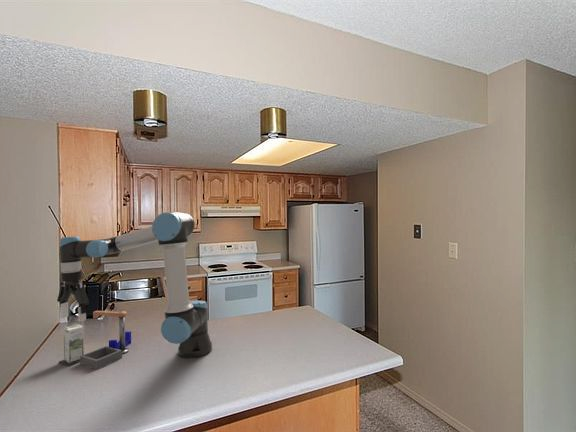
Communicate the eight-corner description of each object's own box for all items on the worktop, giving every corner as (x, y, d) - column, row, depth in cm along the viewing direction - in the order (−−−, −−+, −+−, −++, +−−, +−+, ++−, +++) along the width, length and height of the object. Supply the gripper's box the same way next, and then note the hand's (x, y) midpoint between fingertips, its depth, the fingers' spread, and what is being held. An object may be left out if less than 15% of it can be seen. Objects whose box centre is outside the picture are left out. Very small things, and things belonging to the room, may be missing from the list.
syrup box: (78, 355, 142) (78, 323, 142) (84, 358, 139) (83, 326, 139) (64, 360, 137) (63, 327, 137) (69, 363, 134) (68, 330, 134)
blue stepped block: (123, 343, 157) (122, 331, 157) (131, 343, 156) (131, 331, 156) (106, 353, 145) (105, 340, 145) (114, 354, 144) (114, 341, 144)
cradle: (122, 358, 140) (121, 350, 140) (96, 369, 129) (96, 361, 129) (106, 353, 145) (105, 345, 145) (80, 364, 135) (80, 356, 135)
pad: (88, 358, 140) (88, 357, 140) (69, 366, 133) (69, 365, 133) (78, 355, 144) (78, 354, 144) (58, 362, 136) (58, 361, 136)
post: (130, 350, 147) (130, 315, 147) (121, 355, 143) (120, 318, 143) (124, 349, 149) (123, 314, 149) (114, 353, 145) (113, 317, 145)
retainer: (128, 317, 148) (128, 311, 148) (122, 320, 144) (122, 314, 144) (98, 316, 151) (98, 310, 151) (91, 318, 147) (91, 312, 147)
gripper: (97, 270, 136) (99, 319, 136) (65, 269, 147) (66, 313, 147) (78, 274, 129) (81, 325, 129) (46, 271, 141) (48, 318, 141)
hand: (73, 319), depth 138 cm, fingers open, 13 cm apart
